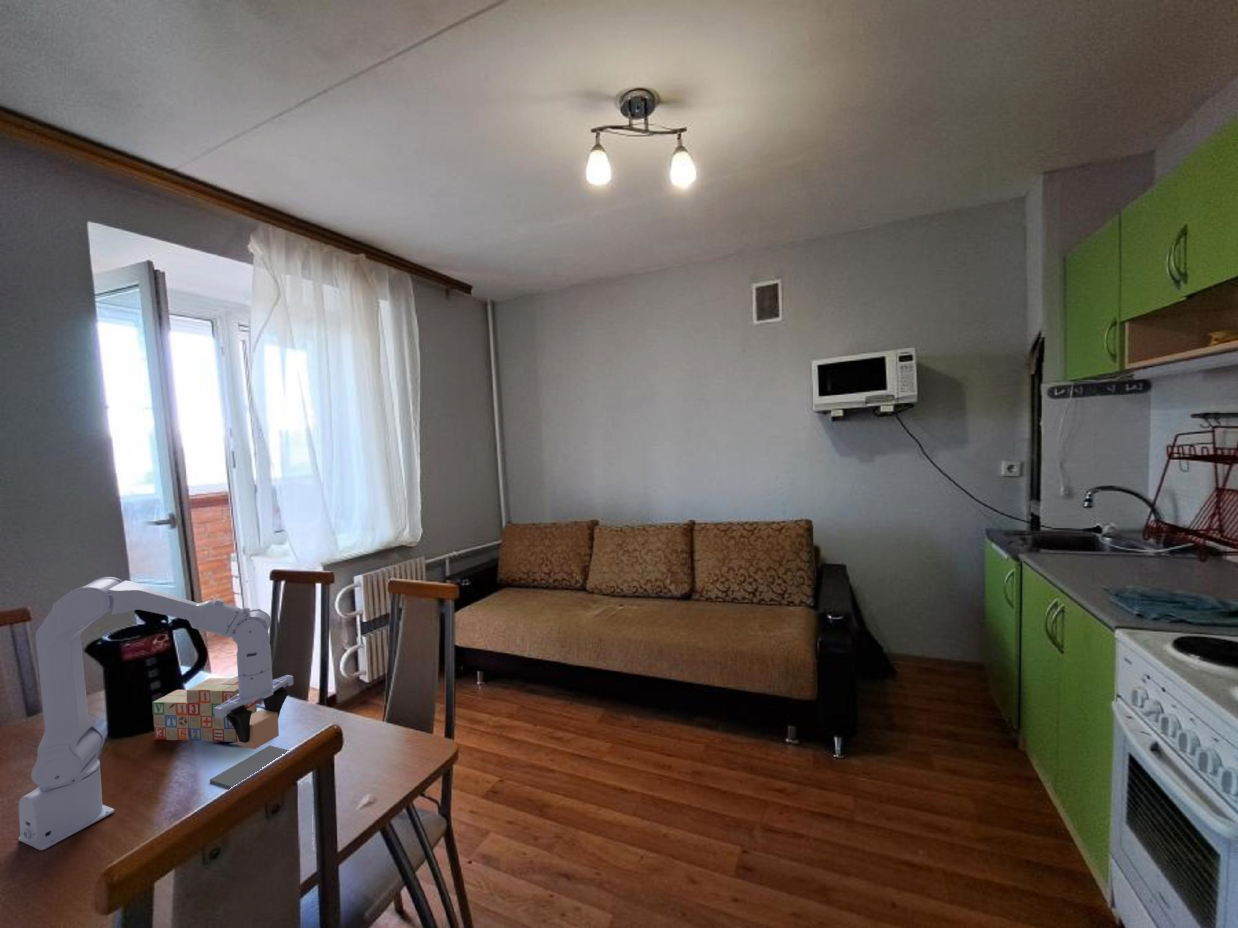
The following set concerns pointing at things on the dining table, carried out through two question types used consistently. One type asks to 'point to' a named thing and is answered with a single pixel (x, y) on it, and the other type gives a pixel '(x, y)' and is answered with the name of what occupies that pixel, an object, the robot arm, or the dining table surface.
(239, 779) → the charcoal mat
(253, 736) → the tan cube
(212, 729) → the stack of blocks
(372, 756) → the dining table surface
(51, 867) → the dining table surface
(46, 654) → the robot arm
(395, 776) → the dining table surface
